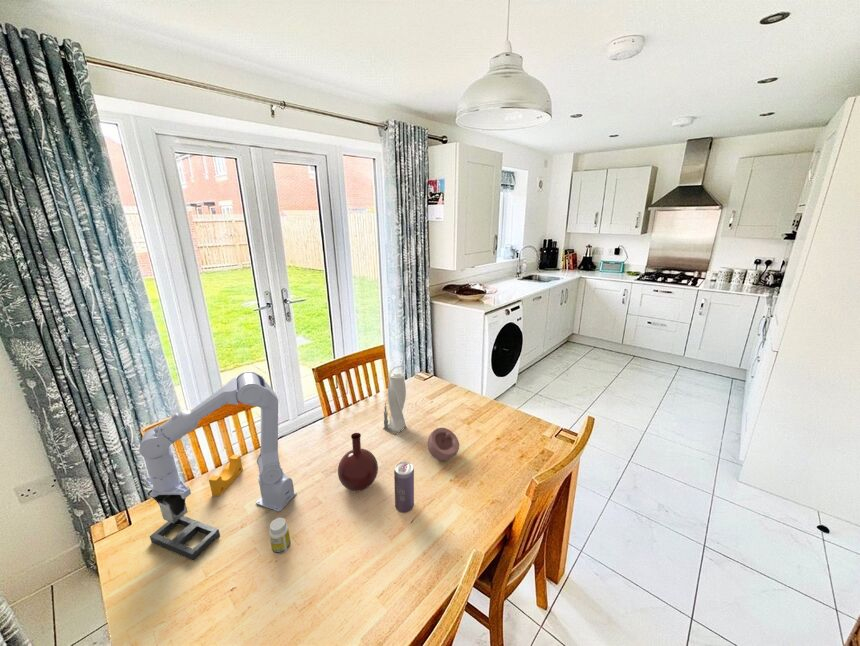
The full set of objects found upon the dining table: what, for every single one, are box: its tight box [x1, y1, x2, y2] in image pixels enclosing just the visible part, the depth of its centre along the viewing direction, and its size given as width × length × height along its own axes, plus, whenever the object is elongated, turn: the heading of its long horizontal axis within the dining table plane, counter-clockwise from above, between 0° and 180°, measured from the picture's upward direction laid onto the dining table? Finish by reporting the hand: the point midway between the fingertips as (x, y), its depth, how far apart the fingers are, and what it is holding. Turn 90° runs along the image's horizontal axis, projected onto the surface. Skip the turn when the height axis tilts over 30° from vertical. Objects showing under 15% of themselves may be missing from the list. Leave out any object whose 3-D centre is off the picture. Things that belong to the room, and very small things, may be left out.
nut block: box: [158, 495, 188, 523], centre depth 96 cm, size 4×4×6 cm
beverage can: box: [393, 461, 415, 514], centre depth 107 cm, size 6×6×15 cm
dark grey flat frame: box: [149, 515, 221, 562], centre depth 97 cm, size 16×8×2 cm, turn 71°
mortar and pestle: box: [426, 427, 460, 462], centre depth 129 cm, size 12×12×11 cm
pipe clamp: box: [208, 454, 244, 497], centre depth 117 cm, size 12×4×6 cm, turn 173°
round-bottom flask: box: [337, 432, 379, 492], centre depth 114 cm, size 13×13×20 cm
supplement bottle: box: [269, 517, 292, 555], centre depth 94 cm, size 5×5×8 cm
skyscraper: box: [382, 365, 407, 436], centre depth 144 cm, size 8×8×28 cm
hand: (173, 510), depth 97 cm, fingers closed on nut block, 4 cm apart
